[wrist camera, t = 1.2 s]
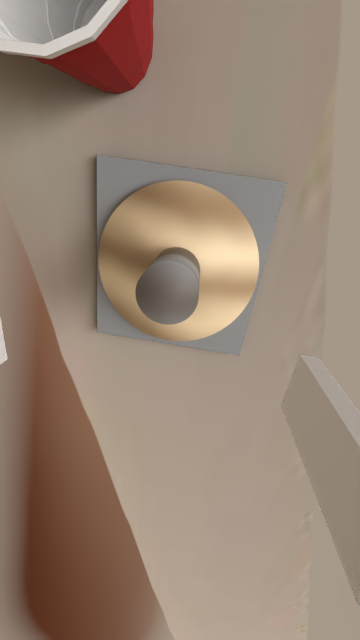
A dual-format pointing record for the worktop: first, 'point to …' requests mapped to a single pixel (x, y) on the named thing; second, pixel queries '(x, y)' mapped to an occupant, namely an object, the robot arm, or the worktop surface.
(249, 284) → the lid
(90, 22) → the plastic cup
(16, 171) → the worktop surface
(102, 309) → the mat
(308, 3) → the worktop surface
